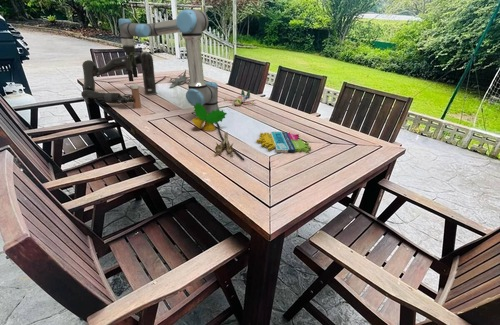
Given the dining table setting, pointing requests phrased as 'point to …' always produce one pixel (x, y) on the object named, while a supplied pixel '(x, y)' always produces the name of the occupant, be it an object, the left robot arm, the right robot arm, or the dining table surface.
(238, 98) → the toy
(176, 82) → the airplane
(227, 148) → the jawbone
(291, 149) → the sign
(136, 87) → the lid
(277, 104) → the dining table surface
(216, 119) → the ornament
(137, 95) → the jar
